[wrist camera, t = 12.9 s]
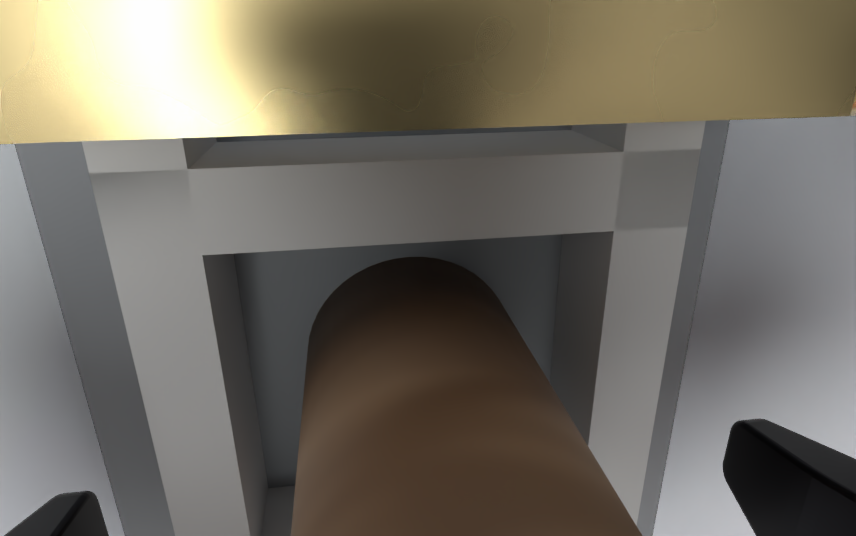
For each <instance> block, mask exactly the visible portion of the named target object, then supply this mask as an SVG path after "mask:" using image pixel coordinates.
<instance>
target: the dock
mask: <svg viewBox="0 0 856 536" xmlns="http://www.w3.org/2000/svg"><path fill="white" fill-rule="evenodd" d="M729 121H730V120H711V121H681V122H651V123H621V124H591V125H560V126H530V127H500V128H470V129H440V130H410V131H380V132H350V133H320V134H290V135H260V136H230V137H200V138H170V139H139V140H109V141H79V142H49V143H19V144H15V147H16V150H17V154H18V158H19V161H20V165H21V168H22V172H23V175H24V179H25V182H26V186H27V190H28V193H29V197H30V200H31V204H32V207H33V211H34V214H35V218H36V221H37V225H38V229H39V232H40V236H41V239H42V243H43V246H44V250H45V253H46V257H47V260H48V264H49V268H50V271H51V275H52V278H53V282H54V285H55V289H56V292H57V296H58V299H59V303H60V307H61V310H62V314H63V317H64V321H65V324H66V328H67V331H68V335H69V338H70V342H71V346H72V349H73V353H74V356H75V360H76V363H77V367H78V370H79V374H80V377H81V381H82V385H83V388H84V392H85V395H86V399H87V402H88V406H89V409H90V413H91V416H92V420H93V424H94V427H95V431H96V434H97V438H98V441H99V445H100V448H101V452H102V455H103V459H104V463H105V466H106V470H107V473H108V477H109V480H110V484H111V487H112V491H113V494H114V498H115V502H116V505H117V509H118V512H119V516H120V519H121V523H122V526H123V530H124V533H125V536H291V527H292V516H293V505H294V494H295V483H296V472H297V461H298V450H299V439H300V428H301V417H302V406H303V395H304V384H305V373H306V362H307V351H308V342H309V335H310V332H311V328H312V325H313V322H314V320H315V318H316V316H317V314H318V312H319V310H320V309H321V307H322V305H323V304H324V302H325V301H326V300H327V298H328V297H329V296H330V295H331V294H332V292H333V291H334V290H335V289H337V288H338V287H339V286H340V285H341V284H342V283H343V282H344V281H346V280H347V279H349V278H350V277H351V276H353V275H354V274H356V273H358V272H360V271H361V270H363V269H365V268H367V267H369V266H372V265H375V264H377V263H380V262H383V261H387V260H391V259H396V258H404V257H429V258H437V259H441V260H445V261H449V262H452V263H454V264H457V265H459V266H462V267H464V268H465V269H467V270H469V271H471V272H472V273H474V274H475V275H477V276H478V277H479V278H481V279H482V280H483V281H484V282H485V283H486V284H487V285H488V286H489V287H490V288H491V289H492V290H493V292H494V293H495V294H496V296H497V297H498V299H499V300H500V302H501V303H502V305H503V307H504V308H505V310H506V312H507V313H508V315H509V317H510V318H511V320H512V322H513V323H514V325H515V327H516V328H517V330H518V331H519V333H520V335H521V336H522V338H523V340H524V341H525V343H526V345H527V346H528V348H529V350H530V351H531V353H532V355H533V356H534V358H535V359H536V361H537V363H538V364H539V366H540V368H541V369H542V371H543V373H544V374H545V376H546V378H547V379H548V381H549V383H550V384H551V386H552V387H553V389H554V391H555V392H556V394H557V396H558V397H559V399H560V401H561V402H562V404H563V406H564V407H565V409H566V411H567V412H568V414H569V415H570V417H571V419H572V420H573V422H574V424H575V425H576V427H577V429H578V430H579V432H580V434H581V435H582V437H583V439H584V440H585V442H586V444H587V445H588V447H589V448H590V450H591V452H592V453H593V455H594V457H595V458H596V460H597V462H598V463H599V465H600V467H601V468H602V470H603V472H604V473H605V475H606V476H607V478H608V480H609V481H610V483H611V485H612V486H613V488H614V490H615V491H616V493H617V495H618V496H619V498H620V500H621V501H622V503H623V504H624V506H625V508H626V509H627V511H628V513H629V514H630V516H631V518H632V519H633V521H634V523H635V524H636V526H637V528H638V529H639V531H640V532H641V534H642V536H652V535H653V529H654V524H655V518H656V513H657V508H658V502H659V497H660V492H661V486H662V481H663V476H664V470H665V465H666V459H667V454H668V449H669V443H670V438H671V433H672V427H673V422H674V416H675V411H676V406H677V400H678V395H679V390H680V384H681V379H682V374H683V368H684V363H685V357H686V352H687V347H688V341H689V336H690V331H691V325H692V320H693V314H694V309H695V304H696V298H697V293H698V288H699V282H700V277H701V272H702V266H703V261H704V255H705V250H706V245H707V239H708V234H709V229H710V223H711V218H712V212H713V207H714V202H715V196H716V191H717V186H718V180H719V175H720V170H721V164H722V159H723V153H724V148H725V143H726V137H727V132H728V127H729Z"/></svg>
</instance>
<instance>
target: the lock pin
mask: <svg viewBox="0 0 856 536" xmlns="http://www.w3.org/2000/svg"><path fill="white" fill-rule="evenodd" d="M837 116H856V0H0V144H19V143H49V142H79V141H109V140H139V139H170V138H200V137H230V136H260V135H290V134H320V133H350V132H380V131H410V130H440V129H470V128H500V127H530V126H560V125H591V124H621V123H651V122H681V121H711V120H741V119H771V118H807V117H837Z"/></svg>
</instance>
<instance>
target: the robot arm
mask: <svg viewBox="0 0 856 536" xmlns="http://www.w3.org/2000/svg"><path fill="white" fill-rule="evenodd" d="M723 472H724V476H725V479H726V482H727V484H728V486H729V487H730V489H731V491H732V493H733V495H734V496H735V498H736V500H737V502H738V504H739V505H740V507H741V509H742V511H743V513H744V515H745V516H746V518H747V520H748V522H749V524H750V525H751V527H752V529H753V531H754V533H755V535H756V536H856V459H854V458H852V457H850V456H847V455H845V454H843V453H841V452H838V451H836V450H834V449H831V448H829V447H827V446H825V445H822V444H820V443H818V442H816V441H813V440H811V439H809V438H806V437H804V436H802V435H800V434H797V433H795V432H793V431H791V430H788V429H786V428H784V427H781V426H779V425H777V424H775V423H772V422H770V421H768V420H765V419H750V420H741V421H738V422H735V424H734V425H733V426H732V428H731V431H730V435H729V440H728V444H727V448H726V452H725V457H724V461H723ZM4 536H109V535H108V532H107V528H106V525H105V522H104V518H103V515H102V512H101V508H100V505H99V502H98V499H97V497H96V495H95V494H94V493H93V492H90V491H81V492H72V493H63V494H59V495H57V496H55V497H54V498H52V499H51V500H49V501H48V502H47V503H46V504H44V505H43V506H42V507H40V508H39V509H38V510H36V511H35V512H34V513H33V514H31V515H30V516H29V517H27V518H26V519H25V520H24V521H22V522H21V523H20V524H18V525H17V526H16V527H15V528H13V529H12V530H11V531H9V532H8V533H7V534H5V535H4Z"/></svg>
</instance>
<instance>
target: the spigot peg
mask: <svg viewBox="0 0 856 536" xmlns="http://www.w3.org/2000/svg"><path fill="white" fill-rule="evenodd" d="M291 536H642V534H641V532H640V531H639V529H638V528H637V526H636V524H635V523H634V521H633V519H632V518H631V516H630V514H629V513H628V511H627V509H626V508H625V506H624V504H623V503H622V501H621V500H620V498H619V496H618V495H617V493H616V491H615V490H614V488H613V486H612V485H611V483H610V481H609V480H608V478H607V476H606V475H605V473H604V472H603V470H602V468H601V467H600V465H599V463H598V462H597V460H596V458H595V457H594V455H593V453H592V452H591V450H590V448H589V447H588V445H587V444H586V442H585V440H584V439H583V437H582V435H581V434H580V432H579V430H578V429H577V427H576V425H575V424H574V422H573V420H572V419H571V417H570V415H569V414H568V412H567V411H566V409H565V407H564V406H563V404H562V402H561V401H560V399H559V397H558V396H557V394H556V392H555V391H554V389H553V387H552V386H551V384H550V383H549V381H548V379H547V378H546V376H545V374H544V373H543V371H542V369H541V368H540V366H539V364H538V363H537V361H536V359H535V358H534V356H533V355H532V353H531V351H530V350H529V348H528V346H527V345H526V343H525V341H524V340H523V338H522V336H521V335H520V333H519V331H518V330H517V328H516V327H515V325H514V323H513V322H512V320H511V318H510V317H509V315H508V313H507V312H506V310H505V308H504V307H503V305H502V303H501V302H500V300H499V299H498V297H497V296H496V294H495V293H494V292H493V290H492V289H491V288H490V287H489V286H488V285H487V284H486V283H485V282H484V281H483V280H482V279H481V278H479V277H478V276H477V275H475V274H474V273H472V272H471V271H469V270H467V269H465V268H464V267H462V266H459V265H457V264H454V263H452V262H449V261H445V260H441V259H437V258H429V257H404V258H396V259H391V260H387V261H383V262H380V263H377V264H375V265H372V266H369V267H367V268H365V269H363V270H361V271H360V272H358V273H356V274H354V275H353V276H351V277H350V278H349V279H347V280H346V281H344V282H343V283H342V284H341V285H340V286H339V287H338V288H337V289H335V290H334V291H333V292H332V294H331V295H330V296H329V297H328V298H327V300H326V301H325V302H324V304H323V305H322V307H321V309H320V310H319V312H318V314H317V316H316V318H315V320H314V322H313V325H312V328H311V332H310V335H309V342H308V351H307V362H306V373H305V384H304V395H303V406H302V417H301V428H300V439H299V450H298V461H297V472H296V483H295V494H294V505H293V516H292V527H291Z"/></svg>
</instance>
